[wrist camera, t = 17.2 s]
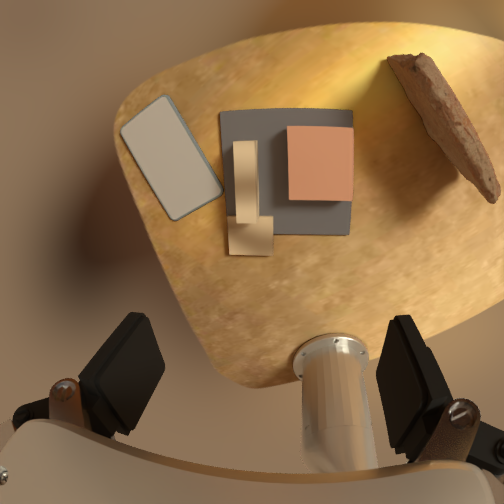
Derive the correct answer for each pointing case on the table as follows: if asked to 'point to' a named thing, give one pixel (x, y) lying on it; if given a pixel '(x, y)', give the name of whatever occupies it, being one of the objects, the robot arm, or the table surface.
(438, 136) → the stone
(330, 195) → the tile
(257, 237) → the turner
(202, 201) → the smartphone
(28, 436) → the robot arm
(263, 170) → the mat
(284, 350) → the table surface
